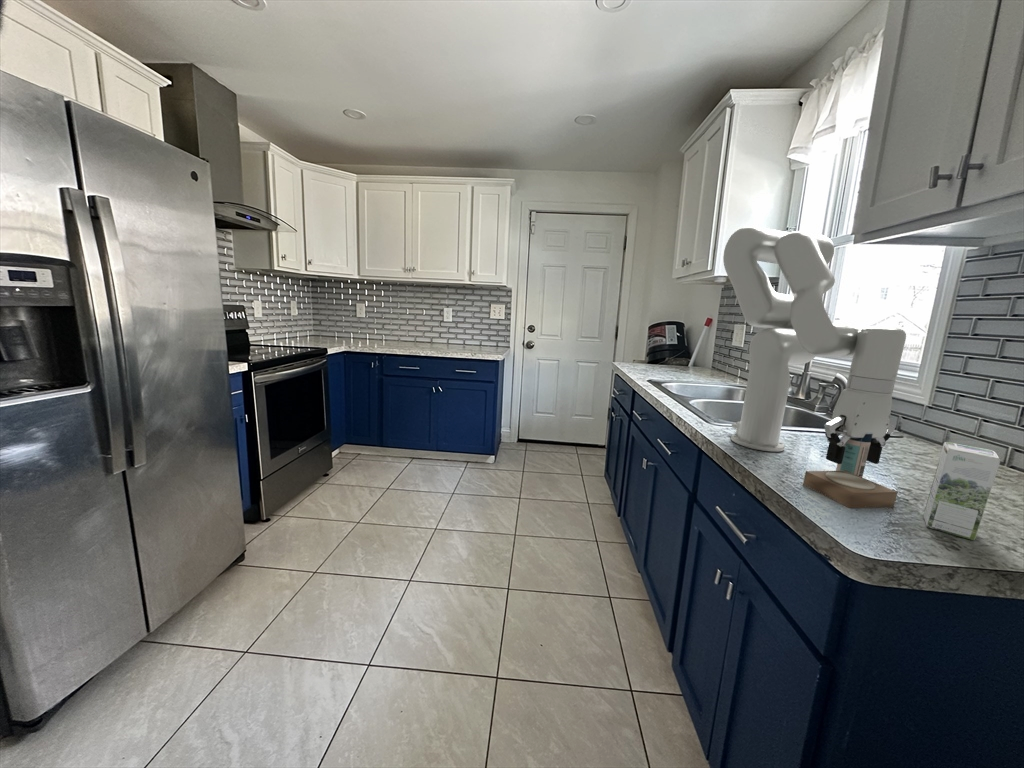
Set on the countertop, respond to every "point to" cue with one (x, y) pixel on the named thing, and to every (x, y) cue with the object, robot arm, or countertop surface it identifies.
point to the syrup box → (960, 489)
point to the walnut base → (850, 489)
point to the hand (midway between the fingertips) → (851, 461)
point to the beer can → (855, 455)
